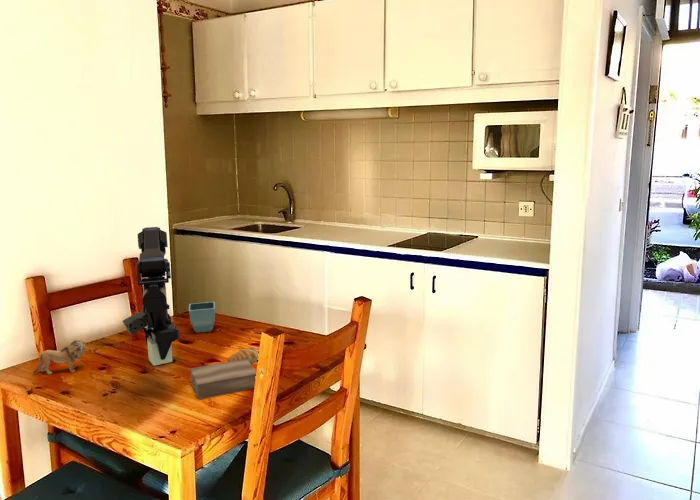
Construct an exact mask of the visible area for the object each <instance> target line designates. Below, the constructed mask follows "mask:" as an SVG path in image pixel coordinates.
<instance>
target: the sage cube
mask: <svg viewBox="0 0 700 500" xmlns="http://www.w3.org/2000/svg"><path fill="white" fill-rule="evenodd" d="M147 344H148V345H147V353H148V354H147V355H148V361H149V362H150V363H151V365H152V366H159V365H162V364H163V365H164V364H168V363H169V364H170V363H172V362H173V361H172V356H173V353H172V352H173V351H172V345H171V346H170V348H169V351H168V353H167V356H166V358H165V359H164V360H161V358H160V355H159V351H158V347H157V343H156V342H154V341H153V340H152V339H147Z"/></svg>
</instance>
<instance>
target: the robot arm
mask: <svg viewBox="0 0 700 500" xmlns="http://www.w3.org/2000/svg"><path fill="white" fill-rule="evenodd" d="M137 246H138V250H141V252H140V253H139V260H137V261H136V270H137V285H138V286H142V289H143V293H142V299H141V301H142V302H141V303H142V306H141V311H139V312H136V313H134V314H133V315H130V316H129V317H127V318H125V319H124V320H122V323H123V325H124V327H125V328H126V331H127V332H128V334H130V335H131V336H132V335H135V334H137V333H138V332H139V331H140V330H142V331H143V332H144V336H145V345H146V346H148V344H147V339H152V340H153V341H154V342H156V343H157V347H158V351H159V355H160V358H161V360H164V359H165V358H166V356H167V353H168V351H169V348H170V346H171V347H172V344H173V342H174V343H175V342H176V341H177V340H178V339H180V330H179V329H177V326H176V325H175V323H174V322H173V321H172V317H171V315H170V314H169V311H168V310H170V305H169V304H168V299H167V298H168V297H167V288H166V287H167V285H166V284H167V283H169V282H170V280H169V279H172V274H171V263H170V261H169V260H168V258H165V255H166V253H167V250H166V248H168V246H169V245H168V234H167V231H165V230H162V229H161V227H158V226H152V227H150V226H149V227H147V226H146V227H144V228H142V230H141V231H139V233H137ZM176 361H177V360H176V358H175V356H174V355H172V362H176Z"/></svg>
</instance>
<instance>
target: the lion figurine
mask: <svg viewBox="0 0 700 500" xmlns="http://www.w3.org/2000/svg"><path fill="white" fill-rule="evenodd" d="M85 341H86V340H83V339H81V338H76V339H74V340H73V341H72V342H71V343H70V344H68V345H66V346H65V347H63V348H62V349H60V350H54V349H53V350H52V349H47V350H44V351H42V352H41V353H40V355H39V357H38V363H37V367H36V369H35V370H33V371H32V374H35V373H37V372H38V370H40V371H41V372H46V374H48V375H52V374H53V371H50V370H49V368H50V364H51V361H52V362H54V363H56V364H57V363H58V364H63V363H67V365H68V368H69V369H68V370H69V371H70V372H71V373H74V372H76V369H75V368H76V367H75V366H74V362H75V361H79V360H80V359H81V357H82V356H83V355H84V354H86V351H87V347H86V344H85V343H86V342H85Z"/></svg>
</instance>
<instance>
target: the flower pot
mask: <svg viewBox="0 0 700 500" xmlns="http://www.w3.org/2000/svg"><path fill="white" fill-rule="evenodd" d="M215 305H216V302H215V301H206V302H196V303H189V304H188V314H189V315H188V316H189V319H190V324H191V326H192V327H191V328H192V329H193V330H194V331H195V333H196V334H197V333H198V334H199V333H206V332H211V331H212V330H213V328H214V325H215V317H216V306H215Z"/></svg>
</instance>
